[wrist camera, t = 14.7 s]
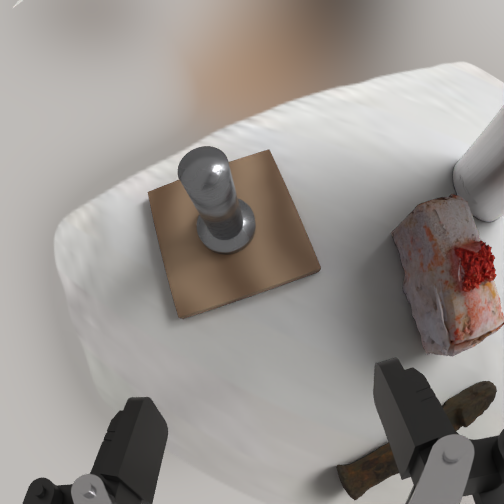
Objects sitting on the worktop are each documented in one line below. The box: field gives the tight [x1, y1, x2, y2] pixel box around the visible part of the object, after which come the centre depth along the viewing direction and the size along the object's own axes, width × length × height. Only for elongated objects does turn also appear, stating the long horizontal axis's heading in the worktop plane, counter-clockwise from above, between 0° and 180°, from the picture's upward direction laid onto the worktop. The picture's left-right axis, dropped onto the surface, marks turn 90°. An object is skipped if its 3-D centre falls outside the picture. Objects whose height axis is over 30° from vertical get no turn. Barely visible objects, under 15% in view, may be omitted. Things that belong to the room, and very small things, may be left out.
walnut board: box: [148, 150, 321, 319], centre depth 31 cm, size 14×14×2 cm
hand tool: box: [337, 381, 497, 500], centre depth 22 cm, size 19×4×5 cm, turn 113°
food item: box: [391, 194, 504, 356], centre depth 24 cm, size 14×8×10 cm, turn 14°
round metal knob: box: [178, 146, 256, 255], centre depth 25 cm, size 6×6×11 cm
